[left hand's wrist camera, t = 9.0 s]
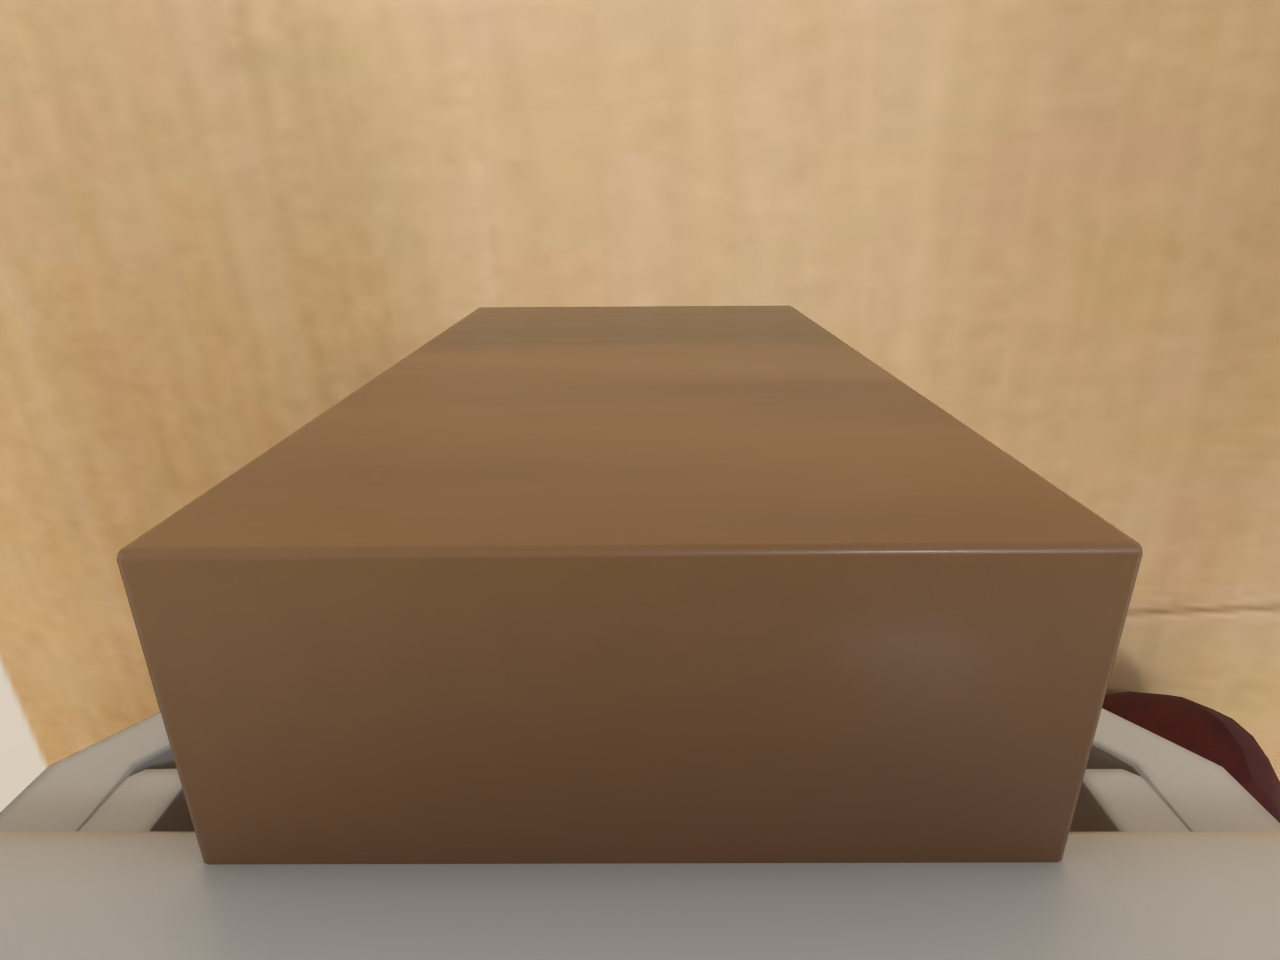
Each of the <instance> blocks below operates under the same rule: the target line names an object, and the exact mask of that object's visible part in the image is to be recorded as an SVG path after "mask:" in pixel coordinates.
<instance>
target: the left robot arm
mask: <svg viewBox="0 0 1280 960" xmlns="http://www.w3.org/2000/svg"><path fill="white" fill-rule="evenodd" d="M0 960H1280V823H1279V822H1278V821H1277V820H1276V819H1275V818H1274V817H1273V816H1272V815H1271V814H1270V813H1269V812H1268V811H1267V810H1266V809H1265V808H1264V807H1263V806H1262V805H1261V804H1260V803H1259V802H1258V801H1257V800H1256V799H1255V798H1253V797H1252V796H1251V795H1250V794H1249V793H1248V792H1247V791H1246V790H1245V789H1244V788H1243V787H1242V786H1241V785H1240V784H1239V783H1238V782H1237V781H1236V780H1235V779H1234V778H1233V777H1232V776H1231V775H1230V774H1229V773H1228V772H1227V771H1226V770H1225V769H1224V768H1223V767H1221V766H1219V765H1217V764H1215V763H1213V762H1211V761H1209V760H1207V759H1205V758H1203V757H1201V756H1199V755H1197V754H1195V753H1193V752H1191V751H1189V750H1187V749H1185V748H1183V747H1181V746H1178V745H1176V744H1174V743H1172V742H1170V741H1168V740H1166V739H1164V738H1162V737H1160V736H1158V735H1156V734H1154V733H1152V732H1150V731H1148V730H1146V729H1144V728H1142V727H1140V726H1138V725H1136V724H1134V723H1131V722H1129V721H1127V720H1125V719H1123V718H1121V717H1119V716H1117V715H1115V714H1113V713H1111V712H1109V711H1107V710H1105V709H1103V708H1102V710H1101V713H1100V717H1099V721H1098V725H1097V728H1096V732H1095V736H1094V740H1093V744H1092V747H1091V751H1090V755H1089V759H1088V763H1087V766H1086V770H1085V774H1084V778H1083V782H1082V785H1081V789H1080V793H1079V797H1078V801H1077V804H1076V808H1075V812H1074V816H1073V820H1072V823H1071V827H1070V831H1069V835H1068V839H1067V842H1066V846H1065V850H1064V854H1063V858H1062V861H1059V862H1030V863H629V864H221V865H209V864H206V863H204V861H203V858H202V854H201V851H200V848H199V844H198V841H197V837H196V834H195V830H194V827H193V823H192V820H191V816H190V813H189V809H188V806H187V802H186V799H185V795H184V792H183V788H182V785H181V781H180V778H179V774H178V771H177V768H176V764H175V761H174V757H173V754H172V750H171V747H170V743H169V740H168V736H167V733H166V729H165V726H164V722H163V719H162V715H161V712H160V713H158V714H155V715H153V716H151V717H149V718H147V719H145V720H143V721H141V722H139V723H137V724H135V725H133V726H131V727H129V728H126V729H124V730H122V731H120V732H118V733H116V734H114V735H112V736H110V737H108V738H106V739H104V740H102V741H100V742H97V743H95V744H93V745H91V746H89V747H87V748H85V749H83V750H81V751H79V752H77V753H75V754H73V755H71V756H69V757H66V758H64V759H62V760H60V761H58V762H56V763H54V764H52V765H50V766H48V767H47V768H46V769H45V770H44V771H43V772H42V773H41V774H40V775H39V776H38V777H37V778H36V779H35V780H34V781H33V782H32V783H31V784H30V785H29V786H28V787H27V788H25V789H24V790H23V791H22V792H21V793H20V794H19V795H18V796H17V797H16V798H15V799H14V800H13V801H12V802H11V803H10V804H9V805H8V806H7V807H6V808H5V809H4V810H3V811H1V812H0Z"/></svg>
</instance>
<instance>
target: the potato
mask: <svg viewBox="0 0 1280 960" xmlns="http://www.w3.org/2000/svg"><path fill="white" fill-rule="evenodd" d="M1102 708H1103V709H1105V710H1107V711H1109V712H1111V713H1113V714H1115V715H1117V716H1119V717H1121V718H1123V719H1125V720H1127V721H1129V722H1131V723H1134V724H1136V725H1138V726H1140V727H1142V728H1144V729H1146V730H1148V731H1150V732H1152V733H1154V734H1156V735H1158V736H1160V737H1162V738H1164V739H1166V740H1168V741H1170V742H1172V743H1174V744H1176V745H1178V746H1181V747H1183V748H1185V749H1187V750H1189V751H1191V752H1193V753H1195V754H1197V755H1199V756H1201V757H1203V758H1205V759H1207V760H1209V761H1211V762H1213V763H1215V764H1217V765H1219V766H1221V767H1223V768H1224V769H1225V770H1226V771H1227V772H1228V773H1229V774H1230V775H1231V776H1232V777H1233V778H1234V779H1235V780H1236V781H1237V782H1238V783H1239V784H1240V785H1241V786H1242V787H1243V788H1244V789H1245V790H1246V791H1247V792H1248V793H1249V794H1250V795H1251V796H1252V797H1253V798H1255V799H1256V800H1257V801H1258V802H1259V803H1260V804H1261V805H1262V806H1263V807H1264V808H1265V809H1266V810H1267V811H1268V812H1269V813H1270V814H1271V815H1272V816H1273V817H1274V818H1275V819H1276V820H1277V821H1278V822H1279V823H1280V781H1279V779H1278V777H1277V775H1276V773H1275V771H1274V769H1273V767H1272V765H1271V763H1270V761H1269V759H1268V758H1267V756H1266V755H1265V753H1264V752H1263V750H1262V749H1261V747H1260V746H1259V745H1258V743H1257V742H1256V740H1255V739H1254V737H1253V736H1252V735H1251V734H1249V733H1248V732H1247V731H1246V730H1245V729H1244V728H1242V727H1241V726H1240V725H1239V724H1238V723H1237V722H1235V721H1234V720H1233V719H1232V718H1229V717H1227V716H1225V715H1223V714H1221V713H1219V712H1217V711H1215V710H1213V709H1210V708H1208V707H1205V706H1203V705H1200V704H1198V703H1195V702H1193V701H1190V700H1188V699H1185V698H1182V697H1177V696H1170V695H1161V694H1150V693H1139V692H1123V693H1117V694H1111V695H1105V698H1104V702H1103V706H1102Z"/></svg>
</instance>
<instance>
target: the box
mask: <svg viewBox="0 0 1280 960" xmlns="http://www.w3.org/2000/svg"><path fill="white" fill-rule="evenodd" d="M1141 558H1142V547H1141V546H1140V544H1139V543H1138V542H1136V541H1135V540H1133V539H1132V538H1130V537H1129V536H1127V535H1126V534H1125V533H1123V532H1122V531H1120V530H1119V529H1117V528H1116V527H1114V526H1113V525H1111V524H1110V523H1108V522H1107V521H1105V520H1104V519H1103V518H1101V517H1100V516H1098V515H1097V514H1095V513H1094V512H1092V511H1091V510H1089V509H1088V508H1086V507H1085V506H1083V505H1082V504H1080V503H1079V502H1078V501H1076V500H1075V499H1073V498H1072V497H1070V496H1069V495H1067V494H1066V493H1064V492H1063V491H1061V490H1060V489H1058V488H1057V487H1056V486H1054V485H1053V484H1051V483H1050V482H1048V481H1047V480H1045V479H1044V478H1042V477H1041V476H1039V475H1038V474H1036V473H1035V472H1034V471H1032V470H1031V469H1029V468H1028V467H1026V466H1025V465H1023V464H1022V463H1020V462H1019V461H1017V460H1016V459H1014V458H1013V457H1012V456H1010V455H1009V454H1007V453H1006V452H1004V451H1003V450H1001V449H1000V448H998V447H997V446H995V445H994V444H992V443H991V442H990V441H988V440H987V439H985V438H984V437H982V436H981V435H979V434H978V433H976V432H975V431H973V430H972V429H970V428H969V427H968V426H966V425H965V424H963V423H962V422H960V421H959V420H957V419H956V418H954V417H953V416H951V415H950V414H948V413H947V412H946V411H944V410H943V409H941V408H940V407H938V406H937V405H935V404H934V403H932V402H931V401H929V400H928V399H926V398H925V397H924V396H922V395H921V394H919V393H918V392H916V391H915V390H913V389H912V388H910V387H909V386H907V385H906V384H904V383H903V382H902V381H900V380H899V379H897V378H896V377H894V376H893V375H891V374H890V373H888V372H887V371H885V370H884V369H882V368H881V367H880V366H878V365H877V364H875V363H874V362H872V361H871V360H869V359H868V358H866V357H865V356H863V355H862V354H860V353H859V352H858V351H856V350H855V349H853V348H852V347H850V346H849V345H847V344H846V343H844V342H843V341H841V340H840V339H838V338H837V337H836V336H834V335H833V334H831V333H830V332H828V331H827V330H825V329H824V328H822V327H821V326H819V325H818V324H816V323H815V322H814V321H812V320H811V319H809V318H808V317H806V316H805V315H803V314H802V313H800V312H799V311H797V310H796V309H794V308H793V307H791V306H675V307H507V308H479V309H477V310H475V311H474V312H472V313H471V314H469V315H468V316H467V317H465V318H464V319H462V320H461V321H459V322H458V323H456V324H455V325H453V326H452V327H450V328H449V329H447V330H446V331H444V332H443V333H441V334H440V335H438V336H437V337H435V338H434V339H432V340H431V341H429V342H428V343H426V344H425V345H424V346H422V347H421V348H419V349H418V350H416V351H415V352H413V353H412V354H410V355H409V356H407V357H406V358H404V359H403V360H401V361H400V362H398V363H397V364H395V365H394V366H392V367H391V368H389V369H388V370H386V371H385V372H383V373H382V374H381V375H379V376H378V377H376V378H375V379H373V380H372V381H370V382H369V383H367V384H366V385H364V386H363V387H361V388H360V389H358V390H357V391H355V392H354V393H352V394H351V395H349V396H348V397H346V398H345V399H343V400H342V401H340V402H339V403H338V404H336V405H335V406H333V407H332V408H330V409H329V410H327V411H326V412H324V413H323V414H321V415H320V416H318V417H317V418H315V419H314V420H312V421H311V422H309V423H308V424H306V425H305V426H303V427H302V428H300V429H299V430H297V431H296V432H295V433H293V434H292V435H290V436H289V437H287V438H286V439H284V440H283V441H281V442H280V443H278V444H277V445H275V446H274V447H272V448H271V449H269V450H268V451H266V452H265V453H263V454H262V455H260V456H259V457H257V458H256V459H255V460H253V461H252V462H250V463H249V464H247V465H246V466H244V467H243V468H241V469H240V470H238V471H237V472H235V473H234V474H232V475H231V476H229V477H228V478H226V479H225V480H223V481H222V482H220V483H219V484H217V485H216V486H214V487H213V488H212V489H210V490H209V491H207V492H206V493H204V494H203V495H201V496H200V497H198V498H197V499H195V500H194V501H192V502H191V503H189V504H188V505H186V506H185V507H183V508H182V509H180V510H179V511H177V512H176V513H174V514H173V515H171V516H170V517H169V518H167V519H166V520H164V521H163V522H161V523H160V524H158V525H157V526H155V527H154V528H152V529H151V530H149V531H148V532H146V533H145V534H143V535H142V536H140V537H139V538H137V539H136V540H134V541H133V542H131V543H130V544H128V545H127V546H126V547H124V548H123V549H121V550H120V551H119V553H118V556H117V562H118V566H119V569H120V573H121V576H122V580H123V583H124V587H125V590H126V594H127V597H128V601H129V604H130V607H131V611H132V614H133V618H134V621H135V625H136V628H137V632H138V635H139V639H140V642H141V646H142V649H143V653H144V656H145V660H146V663H147V667H148V670H149V674H150V677H151V681H152V684H153V688H154V691H155V694H156V698H157V701H158V705H159V708H160V712H161V715H162V719H163V722H164V726H165V729H166V733H167V736H168V740H169V743H170V747H171V750H172V754H173V757H174V761H175V764H176V768H177V771H178V774H179V778H180V781H181V785H182V788H183V792H184V795H185V799H186V802H187V806H188V809H189V813H190V816H191V820H192V823H193V827H194V830H195V834H196V837H197V841H198V844H199V848H200V851H201V854H202V858H203V861H204V863H206V864H209V865H221V864H629V863H1030V862H1059V861H1062V858H1063V854H1064V850H1065V846H1066V842H1067V839H1068V835H1069V831H1070V827H1071V823H1072V820H1073V816H1074V812H1075V808H1076V804H1077V801H1078V797H1079V793H1080V789H1081V785H1082V782H1083V778H1084V774H1085V770H1086V766H1087V763H1088V759H1089V755H1090V751H1091V747H1092V744H1093V740H1094V736H1095V732H1096V728H1097V725H1098V721H1099V717H1100V713H1101V710H1102V706H1103V702H1104V698H1105V694H1106V691H1107V687H1108V683H1109V679H1110V675H1111V672H1112V668H1113V664H1114V660H1115V656H1116V653H1117V649H1118V645H1119V641H1120V637H1121V634H1122V630H1123V626H1124V622H1125V618H1126V615H1127V611H1128V607H1129V603H1130V599H1131V596H1132V592H1133V588H1134V584H1135V580H1136V577H1137V573H1138V569H1139V565H1140V561H1141Z"/></svg>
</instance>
